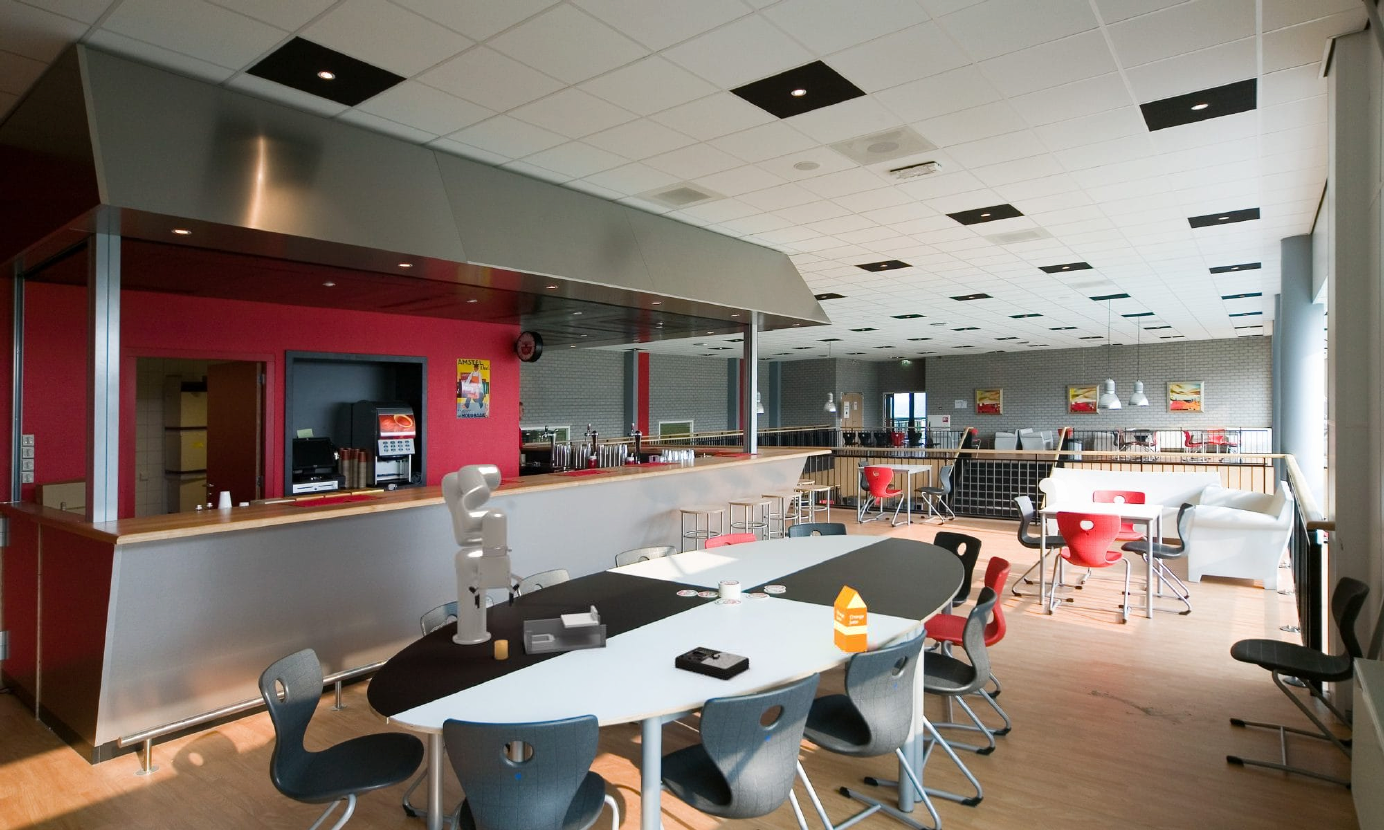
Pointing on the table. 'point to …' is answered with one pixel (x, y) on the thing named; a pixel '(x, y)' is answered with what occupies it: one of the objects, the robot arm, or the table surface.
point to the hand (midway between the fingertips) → (494, 606)
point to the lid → (580, 619)
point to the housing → (561, 636)
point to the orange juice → (850, 621)
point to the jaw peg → (501, 649)
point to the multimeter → (712, 663)
